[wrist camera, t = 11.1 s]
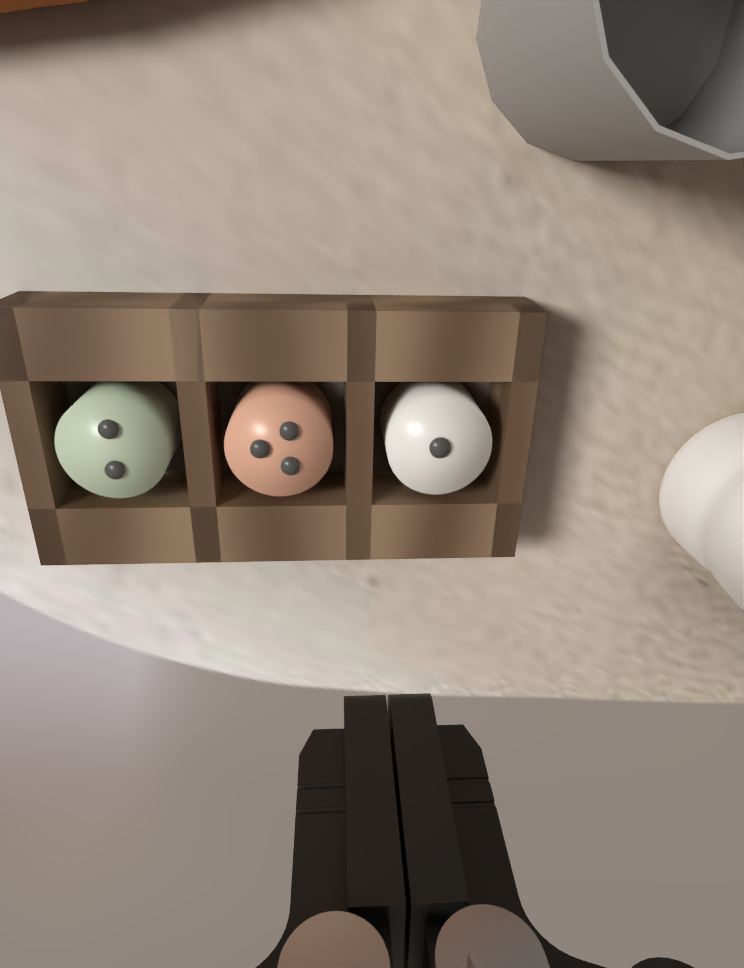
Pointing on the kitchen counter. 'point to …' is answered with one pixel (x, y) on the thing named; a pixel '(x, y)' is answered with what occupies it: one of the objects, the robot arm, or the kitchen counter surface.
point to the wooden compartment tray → (268, 358)
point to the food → (31, 4)
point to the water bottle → (710, 501)
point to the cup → (619, 76)
